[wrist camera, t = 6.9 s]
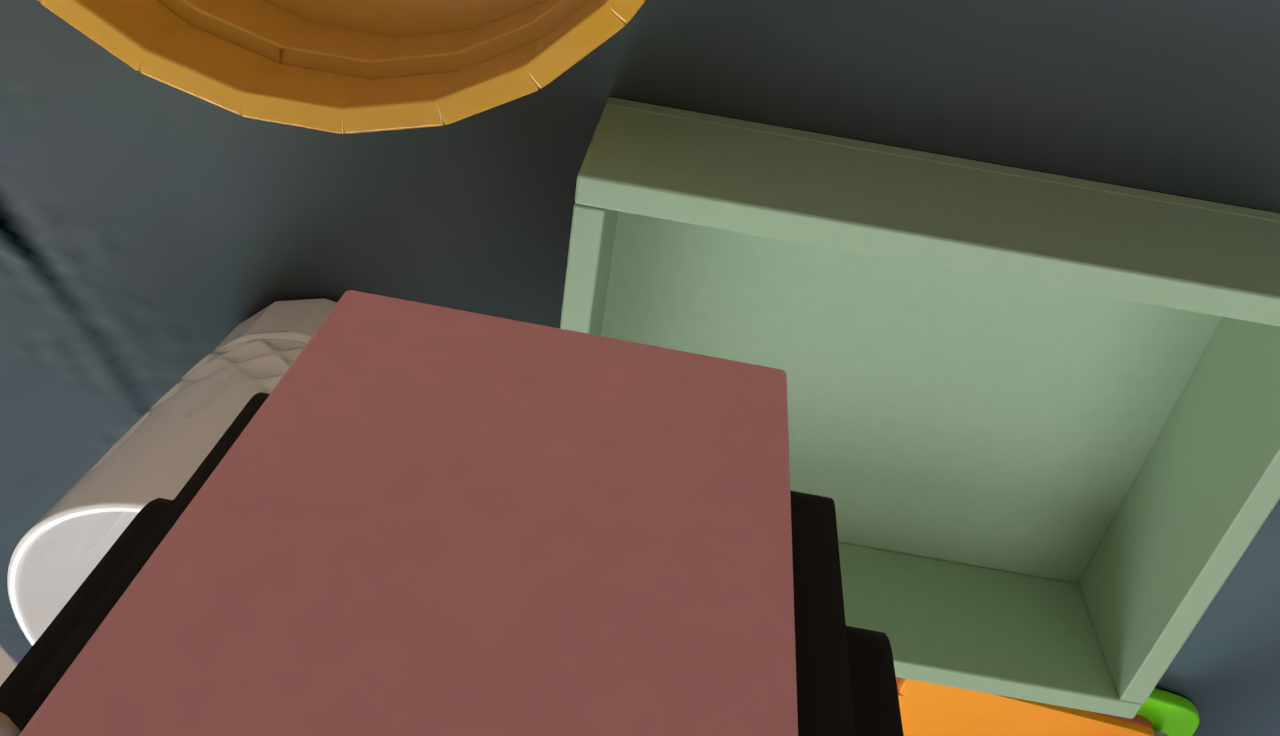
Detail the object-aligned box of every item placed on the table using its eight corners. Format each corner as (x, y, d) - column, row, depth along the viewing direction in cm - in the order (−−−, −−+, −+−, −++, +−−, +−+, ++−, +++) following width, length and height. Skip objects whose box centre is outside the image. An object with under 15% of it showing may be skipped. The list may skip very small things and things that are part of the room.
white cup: (341, 231, 28) (165, 451, 20) (509, 430, 31) (418, 689, 23) (157, 349, 31) (-65, 583, 23) (328, 519, 34) (189, 778, 26)
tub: (608, 96, 25) (576, 174, 21) (1292, 215, 25) (1400, 318, 21) (557, 495, 33) (527, 612, 28) (1085, 588, 33) (1133, 720, 28)
